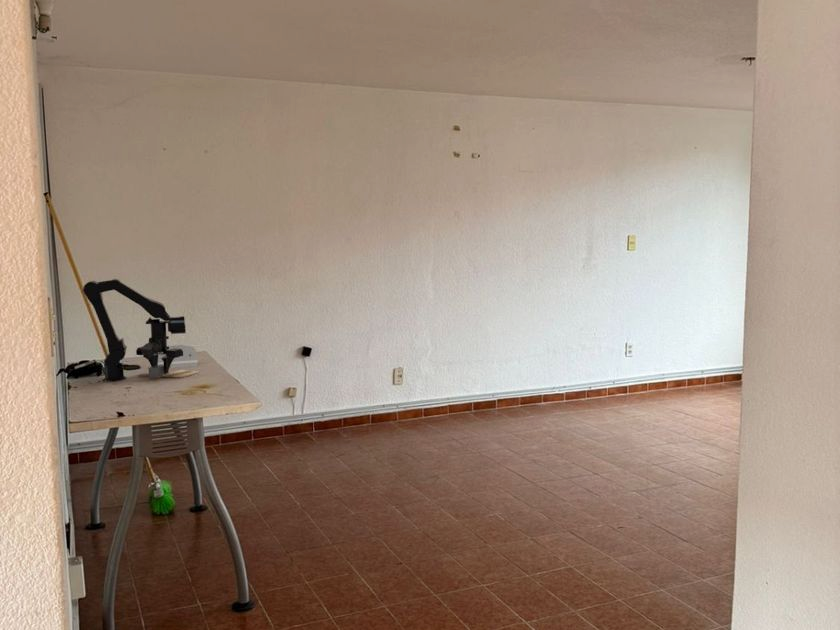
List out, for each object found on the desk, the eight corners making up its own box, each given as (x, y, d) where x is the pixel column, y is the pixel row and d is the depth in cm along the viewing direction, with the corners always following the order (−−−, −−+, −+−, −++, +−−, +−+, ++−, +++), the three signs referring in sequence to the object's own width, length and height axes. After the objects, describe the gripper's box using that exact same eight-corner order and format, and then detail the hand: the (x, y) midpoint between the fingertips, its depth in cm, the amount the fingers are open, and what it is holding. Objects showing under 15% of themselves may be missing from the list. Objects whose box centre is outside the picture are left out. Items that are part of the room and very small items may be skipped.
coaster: (162, 376, 315) (162, 374, 315) (178, 371, 324) (178, 369, 324) (183, 377, 312) (183, 376, 311) (199, 372, 321) (198, 371, 321)
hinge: (156, 369, 330) (155, 345, 332) (157, 370, 334) (156, 347, 336) (198, 366, 334) (197, 342, 336) (198, 367, 339) (197, 344, 341)
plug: (157, 378, 312) (149, 377, 314) (172, 373, 321) (164, 372, 322) (156, 368, 312) (148, 367, 313) (172, 363, 320) (163, 362, 322)
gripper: (125, 336, 310) (127, 375, 312) (164, 339, 303) (166, 379, 306) (144, 331, 320) (146, 369, 323) (183, 334, 314) (184, 373, 316)
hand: (160, 373), depth 317 cm, fingers open, 5 cm apart
